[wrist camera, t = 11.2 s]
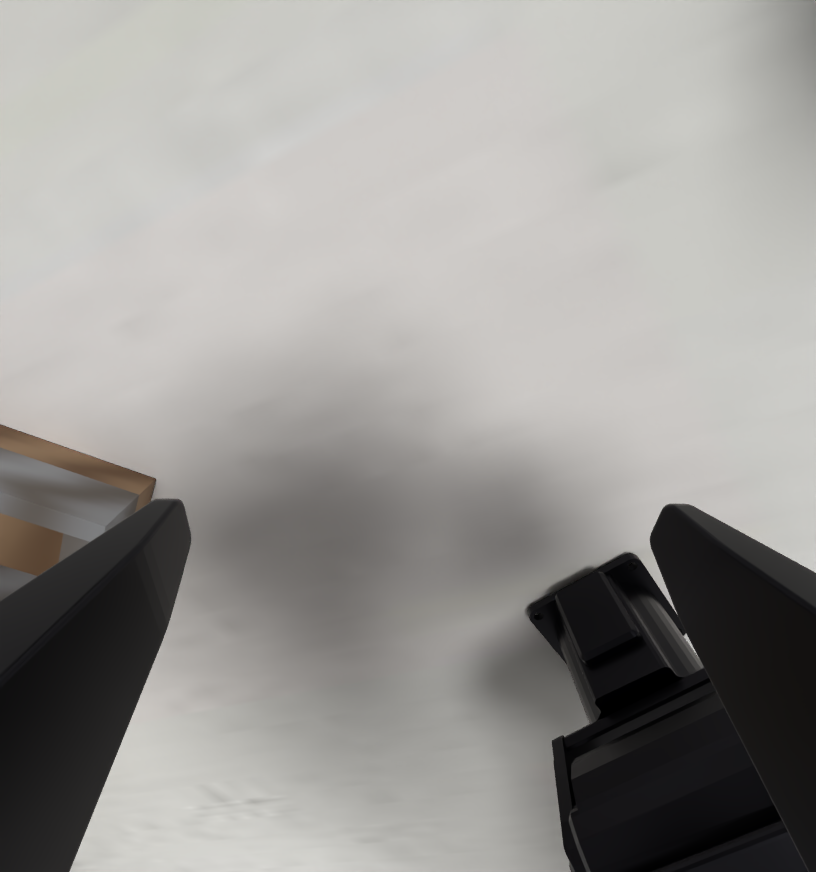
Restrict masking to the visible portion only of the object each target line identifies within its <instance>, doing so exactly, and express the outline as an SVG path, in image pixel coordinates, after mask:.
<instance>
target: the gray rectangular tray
mask: <svg viewBox="0 0 816 872" xmlns="http://www.w3.org/2000/svg"><path fill="white" fill-rule="evenodd" d="M155 481H156V479H155V478H152V477H149V476H146V475H143V474H140V473H137V472H134V471H132V470H129V469H126V468H123V467H120V466H117V465H114V464H111V463H109V462H106V461H103V460H100V459H97V458H94V457H91V456H88V455H86V454H83V453H80V452H77V451H74V450H71V449H68V448H66V447H63V446H60V445H57V444H54V443H51V442H48V441H45V440H43V439H40V438H37V437H34V436H31V435H28V434H25V433H22V432H20V431H17V430H14V429H11V428H8V427H5V426H2V425H0V600H2V599H3V598H5V597H6V596H8V595H9V594H11V593H12V592H14V591H15V590H17V589H18V588H20V587H22V586H23V585H25V584H26V583H28V582H29V581H31V580H32V579H34V578H35V577H37V576H38V575H40V574H41V573H43V572H44V571H46V570H48V569H49V568H51V567H52V566H54V565H55V564H57V563H58V562H60V561H61V560H63V559H64V558H66V557H67V556H69V555H70V554H72V553H74V552H75V551H77V550H78V549H80V548H81V547H83V546H84V545H86V544H87V543H89V542H90V541H92V540H93V539H95V538H96V537H98V536H100V535H101V534H103V533H104V532H106V531H107V530H109V529H110V528H112V527H113V526H115V525H116V524H118V523H119V522H121V521H122V520H124V519H126V518H127V517H129V516H130V515H132V514H133V513H135V512H136V511H138V510H139V509H141V508H142V507H144V506H145V505H147V504H148V503H150V501H151V497H152V493H153V489H154V485H155Z"/></svg>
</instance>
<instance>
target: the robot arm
mask: <svg viewBox="0 0 816 872" xmlns="http://www.w3.org/2000/svg"><path fill="white" fill-rule="evenodd" d="M190 545H191V532H190V528H189V524H188V520H187V515H186V511H185V507H184V504H183V502H182V501H181V500H179V499H155V500H153V501H151V502H150V503H148V504H147V505H145V506H144V507H142V508H141V509H139V510H138V511H136V512H135V513H133V514H132V515H130V516H129V517H127V518H126V519H124V520H122V521H121V522H119V523H118V524H116V525H115V526H113V527H112V528H110V529H109V530H107V531H106V532H104V533H103V534H101V535H100V536H98V537H96V538H95V539H93V540H92V541H90V542H89V543H87V544H86V545H84V546H83V547H81V548H80V549H78V550H77V551H75V552H74V553H72V554H70V555H69V556H67V557H66V558H64V559H63V560H61V561H60V562H58V563H57V564H55V565H54V566H52V567H51V568H49V569H48V570H46V571H44V572H43V573H41V574H40V575H38V576H37V577H35V578H34V579H32V580H31V581H29V582H28V583H26V584H25V585H23V586H22V587H20V588H18V589H17V590H15V591H14V592H12V593H11V594H9V595H8V596H6V597H5V598H3V599H2V600H0V872H69V871H70V869H71V866H72V864H73V861H74V859H75V856H76V854H77V851H78V849H79V846H80V844H81V842H82V839H83V837H84V834H85V832H86V829H87V827H88V824H89V822H90V819H91V817H92V814H93V812H94V809H95V807H96V804H97V802H98V799H99V797H100V794H101V792H102V789H103V787H104V784H105V782H106V780H107V777H108V775H109V772H110V770H111V767H112V765H113V762H114V760H115V757H116V755H117V752H118V750H119V747H120V745H121V742H122V740H123V737H124V735H125V732H126V730H127V727H128V725H129V722H130V720H131V717H132V715H133V713H134V710H135V708H136V705H137V703H138V700H139V698H140V695H141V693H142V690H143V688H144V685H145V683H146V680H147V678H148V675H149V673H150V670H151V668H152V665H153V663H154V660H155V658H156V655H157V653H158V650H159V648H160V646H161V643H162V641H163V638H164V635H165V633H166V630H167V627H168V624H169V621H170V618H171V614H172V611H173V607H174V604H175V600H176V596H177V593H178V589H179V585H180V582H181V578H182V574H183V571H184V567H185V564H186V560H187V556H188V553H189V549H190ZM650 545H651V549H652V551H653V554H654V556H655V559H656V561H657V564H658V567H659V569H660V572H661V574H662V577H663V579H664V582H665V584H666V587H667V589H668V592H669V595H670V597H671V600H672V602H673V605H674V607H675V610H676V612H677V614H678V615H677V614H676V612H675V611H674V609H673V608H672V606H671V605H670V603H669V602H668V601H667V599H666V598H665V596H664V595H663V593H662V592H661V590H660V589H659V587H658V586H657V584H656V583H655V581H654V580H653V578H652V577H651V575H650V574H649V572H648V571H647V569H646V568H645V566H644V565H643V563H642V562H641V560H640V559H639V558H638V556H636V555H635V554H626V555H624V556H622V557H620V558H618V559H617V560H615V561H613V562H611V563H609V564H607V565H606V566H604V567H602V568H600V569H598V570H596V571H594V572H593V573H591V574H589V575H587V576H585V577H583V578H582V579H580V580H578V581H576V582H574V583H572V584H570V585H569V586H567V587H565V588H563V589H561V590H559V591H558V592H556V593H554V594H552V595H550V596H548V597H546V598H545V599H543V600H541V601H539V602H537V603H535V604H534V605H532V606H531V607H529V609H528V615H529V618H530V620H531V622H532V623H533V624H534V625H535V627H536V628H537V629H538V630H539V631H540V633H541V634H542V635H543V636H544V637H545V639H546V640H547V641H548V642H549V643H550V645H551V646H552V647H553V648H554V649H555V650H556V652H557V653H558V654H559V655H560V656H561V658H562V659H563V660H564V661H565V662H566V664H567V665H568V668H569V671H570V673H571V676H572V678H573V681H574V684H575V686H576V689H577V692H578V694H579V697H580V699H581V702H582V705H583V707H584V710H585V712H586V715H587V718H588V720H589V723H590V724H589V725H587V726H585V727H583V728H581V729H579V730H577V731H575V732H573V733H571V734H569V735H567V736H565V737H564V736H563V735H562V736H560V737H558V738H556V739H554V740H552V747H553V755H554V769H555V778H556V786H557V795H558V803H559V811H560V820H561V828H562V837H563V845H564V850H565V852H566V855H567V857H568V859H569V866H570V870H571V872H816V573H815V572H813V571H811V570H810V569H808V568H806V567H804V566H802V565H800V564H799V563H797V562H795V561H793V560H791V559H789V558H788V557H786V556H784V555H782V554H780V553H778V552H776V551H775V550H773V549H771V548H769V547H767V546H765V545H764V544H762V543H760V542H758V541H756V540H754V539H753V538H751V537H749V536H747V535H745V534H743V533H742V532H740V531H738V530H736V529H734V528H732V527H730V526H729V525H727V524H725V523H723V522H721V521H719V520H718V519H716V518H714V517H712V516H710V515H708V514H707V513H705V512H703V511H701V510H699V509H697V508H696V507H694V506H692V505H689V504H668V505H666V506H665V507H664V508H663V509H662V511H661V513H660V515H659V517H658V520H657V522H656V524H655V526H654V528H653V530H652V533H651V536H650ZM630 563H633V564H632V565H629V564H630ZM628 565H629V566H628ZM536 613H540V614H538V615H535V614H536ZM686 633H687V635H688V637H689V639H690V641H691V643H692V645H693V647H694V649H695V651H696V653H697V655H698V656H697V655H696V653H695V652H694V651H693V649H692V648H691V646H690V645H689V644H688V642H687V641H686V639H685V638H684V637H683V636H684V635H685V634H686ZM698 657H699V658H698Z"/></svg>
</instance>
